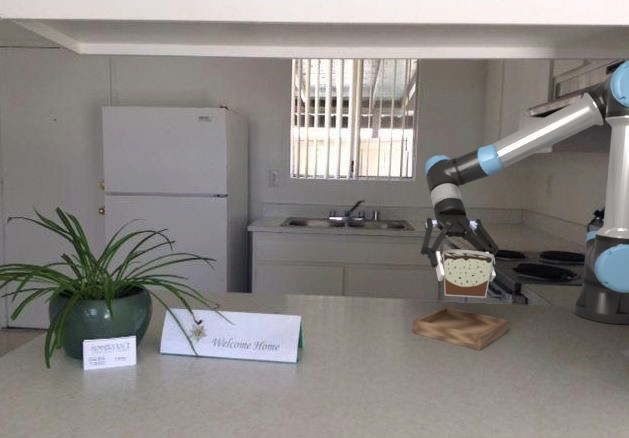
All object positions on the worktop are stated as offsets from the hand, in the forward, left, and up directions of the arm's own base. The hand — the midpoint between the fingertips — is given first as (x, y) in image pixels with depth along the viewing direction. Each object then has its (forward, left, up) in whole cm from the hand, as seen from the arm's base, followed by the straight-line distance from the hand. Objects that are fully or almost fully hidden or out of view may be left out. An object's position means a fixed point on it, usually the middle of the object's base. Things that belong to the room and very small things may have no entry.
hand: (467, 278), depth 115 cm
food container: (+2, -2, -4) cm, 5 cm away
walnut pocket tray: (+2, -2, -14) cm, 14 cm away
